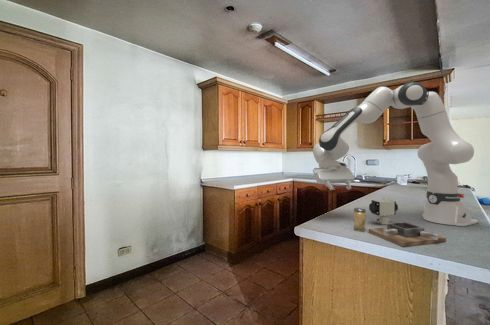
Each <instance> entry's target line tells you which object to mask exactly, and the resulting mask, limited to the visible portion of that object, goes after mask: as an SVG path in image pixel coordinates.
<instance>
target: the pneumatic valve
mask: <svg viewBox="0 0 490 325" xmlns="http://www.w3.org/2000/svg"><path fill="white" fill-rule="evenodd" d="M368 210H369V211H370V212H371V214H373V215H376V223H377V224H380V225H383V226H384V225H387V223H391V221H390V220H391V219H390V217H389V216H392V215H394V216H395V215H396V214H397V211H398V210H399V205H398V204H397V202H396V201H395V200H391V199H385V198H381V199H372V200H371V202H370V203H369V205H368Z"/></svg>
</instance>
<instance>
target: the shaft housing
mask: <svg viewBox="0 0 490 325" xmlns="http://www.w3.org/2000/svg"><path fill="white" fill-rule="evenodd" d="M368 233H369V234H371V235H373V236H375V237H378V238H381V239H384V240H385V241H388V242H390V243H392V244H395V245H397V246H400V247H403V248H406V247H407V248H408V247H413V246H415V247H416V246H422V245H423V246H424V245H430V244H439V243H446V242H447V237H445V236H442V235H439V233H435V232H429V231H426V230H425V227H424V226H423V227H422V226H419V225H416V224H413V223H409V222H406V221H399V222H398V221H397V222H389V223H387V224H386V226H383V227H373V228H368Z"/></svg>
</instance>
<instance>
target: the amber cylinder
mask: <svg viewBox="0 0 490 325" xmlns="http://www.w3.org/2000/svg"><path fill="white" fill-rule="evenodd" d="M366 212H367V211H366V208H363V207H362V208H361V207H355V208H353V230H354V231H357V232H365V231H366V218H367V217H366V214H367V213H366Z"/></svg>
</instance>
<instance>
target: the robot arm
mask: <svg viewBox="0 0 490 325" xmlns="http://www.w3.org/2000/svg"><path fill="white" fill-rule="evenodd" d="M439 95H440V94H438V92H436V91H428V89H426V87H425V86H424V85H423V84H422V83H421V82H416V81H412V82H407V83H404V84H402V85H400V86H398V87H397V88H395V89H391V88H389V87H388V86H378V87H377V88H376V89H374V90H373V91H372V92H371V93H370V94H369V95H368V96H367V97H366V98H365V99H364V100H363V101H362V102H361V103H360V104H359V105H358V106H357V107H352V108H350V109H349V110H348V111H347V112H346V113H345V114H343V116H342V117H340V118H339V119H338V120H337V121H336V122H335V123H334V124H332V125H331V127H330V128H329V127H328V129H325V131H324V132H322V133H321V135H320V136H319V139H318V143H316V144H315V145H314V146H313V148H312V154H313V157H314V159H315V161H316V163H317V164H318V167H314V168H313V169H312V173H313V174H314V177H315V181H316V183H318V184H319V185H325V186H326V187H327V188H329V191H335V186H334V185H335V184H345V185H346V186H345V188H346V190H351V189H352V186H351V184H352V183H353V182H354V180H355V178H356V177H355V175H354V173H353V172H352V171H351V170H350V168H348V165H347V164H346V163H345V162H341V161H338V160H339V159H342V158H343V157H346V155H347V154H348V152H349V150H350V149H349V148H350V147H349V143H347V142H346V141H345V139H343V138H342V137H341V136H342V134H343V133H344V132H346V130H347V129H349V128H350V127H351V126H352V125H354V124H355V123H361V124H372V123H374V122H376V121H377V120H378V119H379V118H380V117H381V116H382V115H383V113H384V112H385V111H386V109H388V108H390V109H393V110H398V111H399V110H404V109H408V108H411V109H412V110H413V111H414V112H415V116H416V118H417V122H418V125H419V129H420V131H421V133H422V134H423V135H424V136H425V137H426V138H428V139H429V140H430V142H427V143H425V144H422V145H421V146H420V147H418V150H417V157H418V158H419V160H420V161H421V162H422V163H423V165H424V168H425V171H426V174H427V190H426V195H425V196H426V197H425V198H426V200H425V201H424V207H423V213H422V214H421V217H422V219H423V220H425V221H428V222H431V223H437V224H439V225H440V224H441V225H449V226H450V225H451V226H457V227H466V226H470V225H475V224H479V220H477V219H476V218H472V210H471V209H470V208H469V207H468V206H467V205H465V204H464V203H463V202H462V201H461V199H464V198H465V194H464V193H459V192H458V189H459V188H458V187H459V186H458V183H459V181H458V180H459V177H458V176H457V174H456V173H455V172H453V169H452V168H451V166H450V165H459V164H465V163H467V162H470V161H471V160H472V159H473V157H474V155H475V149H474V146H473V145H472V144H471V143H470V142H468V141H466V140H464V139H463V138H462V137H461V136H460V135H459V134H458V133H457V131H455V129H454V128H453V127H452V124H451V121H450V119H449V116H448V113H447V110H446V107H445V105H444V104H445V103H443V100H442V99H441V96H439ZM333 184H334V185H333Z"/></svg>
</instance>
